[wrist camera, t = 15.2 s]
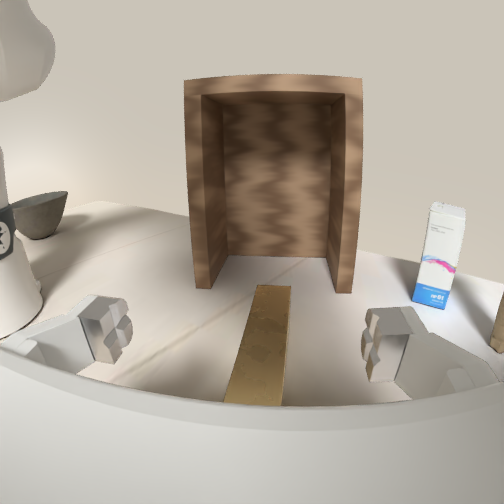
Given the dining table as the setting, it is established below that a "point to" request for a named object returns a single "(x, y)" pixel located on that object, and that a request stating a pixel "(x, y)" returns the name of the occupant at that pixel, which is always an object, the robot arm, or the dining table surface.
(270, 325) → the brass bar
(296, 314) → the dining table surface
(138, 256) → the dining table surface
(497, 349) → the handle
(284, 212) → the walnut stand
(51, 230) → the bowl
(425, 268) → the ink box
